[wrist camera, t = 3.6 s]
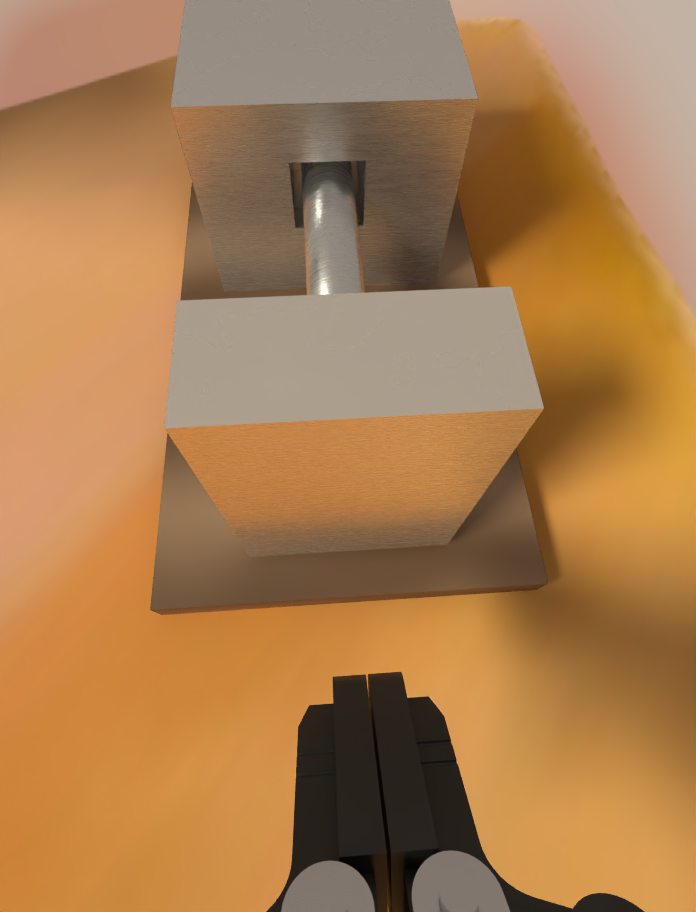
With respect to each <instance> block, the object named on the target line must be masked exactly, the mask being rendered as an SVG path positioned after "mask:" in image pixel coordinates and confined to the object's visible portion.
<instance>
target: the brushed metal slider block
mask: <svg viewBox="0 0 696 912" xmlns="http://www.w3.org/2000/svg"><path fill="white" fill-rule="evenodd" d="M301 169H302V193H303V217H304V241H305V265H306V290H307V295H298V296H275V297H251V298H228V299H204V300H181V301H177V309H176V319H175V329H174V339H173V349H172V359H171V369H170V378H169V388H168V398H167V408H166V418H165V430H166V431H167V433H168V434H169V436H170V437H171V439H172V440H173V442H174V443H175V445H176V446H177V448H178V449H179V451H180V452H181V454H182V455H183V457H184V458H185V460H186V461H187V463H188V464H189V466H190V467H191V469H192V470H193V472H194V473H195V475H196V476H197V478H198V479H199V481H200V482H201V484H202V485H203V487H204V488H205V490H206V491H207V493H208V494H209V496H210V497H211V499H212V500H213V502H214V503H215V505H216V506H217V508H218V509H219V511H220V512H221V514H222V515H223V517H224V518H225V520H226V521H227V523H228V524H229V526H230V527H231V529H232V530H233V532H234V533H235V535H236V536H237V538H238V539H239V541H240V542H241V544H242V545H243V547H244V548H245V550H246V551H247V553H248V554H249V556H250V557H260V556H276V555H292V554H307V553H323V552H339V551H355V550H371V549H387V548H403V547H419V546H435V545H447V544H448V543H449V541H450V540H451V539H452V537H453V536H454V534H455V533H456V532H457V530H458V529H459V527H460V526H461V525H462V523H463V522H464V520H465V519H466V518H467V516H468V515H469V513H470V512H471V511H472V509H473V508H474V506H475V505H476V503H477V502H478V501H479V499H480V498H481V496H482V495H483V494H484V492H485V491H486V489H487V488H488V487H489V485H490V484H491V482H492V481H493V480H494V478H495V477H496V475H497V474H498V473H499V471H500V470H501V468H502V467H503V466H504V464H505V463H506V461H507V460H508V459H509V457H510V456H511V454H512V453H513V451H514V450H515V449H516V447H517V446H518V444H519V443H520V442H521V440H522V439H523V437H524V436H525V435H526V433H527V432H528V430H529V429H530V428H531V426H532V425H533V423H534V422H535V421H536V419H537V418H538V416H539V415H540V414H541V412H542V411H543V409H544V406H543V402H542V399H541V395H540V391H539V387H538V384H537V380H536V376H535V373H534V369H533V365H532V362H531V358H530V354H529V351H528V347H527V343H526V339H525V336H524V332H523V328H522V325H521V321H520V317H519V314H518V310H517V306H516V302H515V299H514V295H513V291H512V288H511V286H509V287H486V288H462V289H439V290H416V291H392V292H369V293H365V288H364V279H363V270H362V260H361V251H360V241H359V232H358V223H357V213H356V204H355V194H354V185H353V175H352V166H351V161H332V162H301Z"/></svg>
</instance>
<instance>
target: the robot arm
mask: <svg viewBox="0 0 696 912" xmlns="http://www.w3.org/2000/svg"><path fill="white" fill-rule="evenodd" d="M368 694H369V698H368ZM333 700H334V704H322V705H309V707H308V709H307V711H306V713H305V715H304V717H303V719H302V721H301V723H300V725H299V727H298V745H297V767H296V788H295V809H294V831H293V852H292V865H291V870H290V874H289V878H288V880H287V883H286V885H285V887H284V889H283V891H282V893H281V895H280V896H279V898H278V899H277V900H276V902H275V903H274V904H273V905H272V906H271V907H270V909H269V910H268V911H267V912H388V911H389V912H644V911H643V910H641V909H640V908H639V907H637V906H636V905H634V904H633V903H631V902H629V901H627V900H625V899H623V898H621V897H618V896H615V895H611V894H605V893H597V894H591V895H588V896H586V897H584V898H582V899H581V900H580V901H578V903H577V904H576V905H575V906H574V908H573V909H571V908H568V907H565V906H561V905H558V904H555V903H551V902H548V901H544V900H541V899H538V898H534V897H532V896H529V895H526V894H524V893H522V892H520V891H519V890H517V889H515V888H514V887H512V886H511V885H509V884H508V883H507V882H506V881H505V880H504V879H502V878H501V877H500V876H499V875H498V873H497V872H496V871H495V870H494V869H493V867H492V866H491V865H490V863H489V862H488V860H487V858H486V856H485V854H484V852H483V850H482V847H481V844H480V841H479V838H478V834H477V831H476V827H475V824H474V820H473V817H472V813H471V810H470V806H469V802H468V799H467V795H466V792H465V788H464V785H463V781H462V778H461V774H460V771H459V767H458V765H457V762H456V757H455V753H454V750H453V746H452V745H451V739H450V736H449V732H448V728H447V725H446V721H445V718H444V715H443V714H442V713H441V712H440V710H439V709H438V708H437V707H436V705H435V704H434V703H433V702H432V700H431V699H430V698H429V697H415V698H407V695H406V690H405V685H404V680H403V676H402V673H401V672H392V673H378V674H368V689H367V681H366V675H352V676H338V677H333Z"/></svg>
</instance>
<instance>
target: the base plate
mask: <svg viewBox="0 0 696 912" xmlns="http://www.w3.org/2000/svg"><path fill="white" fill-rule="evenodd" d="M364 288H365V293H369V292H392V291H416V290H439V289H462V288H479V286H478V282H477V278H476V274H475V269H474V265H473V261H472V256H471V252H470V248H469V244H468V239H467V235H466V231H465V227H464V222H463V218H462V214H461V209H460V205H459V201H458V197H457V193H456V197H455V202H454V206H453V210H452V215H451V219H450V223H449V228H448V232H447V236H446V241H445V245H444V249H443V254H442V258H441V263H440V267H439V271H438V276H437V280H436V283H421V284H397V285H374V286H364ZM298 295H307V290H306V288H302V289H279V290H255V291H231V292H224V289H223V286H222V282H221V279H220V275H219V272H218V268H217V265H216V261H215V258H214V255H213V251H212V248H211V244H210V241H209V237H208V234H207V231H206V227H205V224H204V220H203V217H202V213H201V210H200V207H199V203H198V200H197V196H196V193H195V189H194V186H193V183H192V188H191V198H190V209H189V219H188V229H187V239H186V249H185V260H184V270H183V280H182V290H181V300H204V299H228V298H251V297H275V296H298ZM546 584H548V581H547V577H546V573H545V569H544V564H543V560H542V556H541V551H540V547H539V543H538V539H537V534H536V530H535V526H534V521H533V517H532V513H531V509H530V504H529V500H528V496H527V492H526V487H525V483H524V479H523V474H522V470H521V466H520V462H519V457H518V453H517V449H515V450H514V451H513V453H512V454H511V456H510V457H509V459H508V460H507V461H506V463H505V464H504V466H503V467H502V468H501V470H500V471H499V473H498V474H497V475H496V477H495V478H494V480H493V481H492V482H491V484H490V485H489V487H488V488H487V489H486V491H485V492H484V494H483V495H482V496H481V498H480V499H479V501H478V502H477V503H476V505H475V506H474V508H473V509H472V511H471V512H470V513H469V515H468V516H467V518H466V519H465V520H464V522H463V523H462V525H461V526H460V527H459V529H458V530H457V532H456V533H455V534H454V536H453V537H452V539H451V540H450V541H449V543H448V544H447V545H435V546H419V547H403V548H387V549H371V550H355V551H339V552H323V553H307V554H292V555H276V556H260V557H250V556H249V554H248V553H247V551H246V550H245V548H244V547H243V545H242V544H241V542H240V541H239V539H238V538H237V536H236V535H235V533H234V532H233V530H232V529H231V527H230V526H229V524H228V523H227V521H226V520H225V518H224V517H223V515H222V514H221V512H220V511H219V509H218V508H217V506H216V505H215V503H214V502H213V500H212V499H211V497H210V496H209V494H208V493H207V491H206V490H205V488H204V487H203V485H202V484H201V482H200V481H199V479H198V478H197V476H196V475H195V473H194V472H193V470H192V469H191V467H190V466H189V464H188V463H187V461H186V460H185V458H184V457H183V455H182V454H181V452H180V451H179V449H178V448H177V446H176V445H175V443H174V442H173V440H172V439H171V437H170V436H169V434H167V444H166V454H165V464H164V474H163V485H162V495H161V505H160V515H159V526H158V536H157V546H156V556H155V567H154V577H153V587H152V597H151V607H150V610H152V611H154V612H156V613H158V614H161V615H166V614H181V613H196V612H211V611H226V610H241V609H256V608H271V607H286V606H301V605H316V604H331V603H346V602H361V601H376V600H391V599H406V598H421V597H436V596H450V595H465V594H480V593H495V592H510V591H525V590H537V589H539V588H540V587H542V586H544V585H546Z"/></svg>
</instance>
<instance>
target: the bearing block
mask: <svg viewBox="0 0 696 912" xmlns="http://www.w3.org/2000/svg"><path fill="white" fill-rule="evenodd" d="M477 102H478V96H477V93H476V89H475V86H474V83H473V79H472V76H471V72H470V69H469V66H468V62H467V59H466V55H465V52H464V49H463V45H462V42H461V39H460V35H459V32H458V28H457V25H456V22H455V18H454V15H453V12H452V8H451V5H450V2H449V0H185V6H184V13H183V20H182V27H181V35H180V42H179V49H178V56H177V63H176V71H175V78H174V85H173V92H172V100H171V110H172V114H173V117H174V121H175V124H176V128H177V131H178V135H179V138H180V141H181V145H182V148H183V152H184V155H185V159H186V162H187V165H188V169H189V172H190V176H191V179H192V183H193V186H194V189H195V193H196V196H197V200H198V203H199V207H200V210H201V213H202V217H203V220H204V224H205V227H206V231H207V234H208V237H209V241H210V244H211V248H212V251H213V255H214V258H215V261H216V265H217V268H218V272H219V275H220V279H221V282H222V286H223V289H224V292H231V291H255V290H279V289H302V288H306V265H305V241H304V217H303V193H302V169H301V162H332V161H351V166H352V175H353V185H354V194H355V204H356V213H357V223H358V232H359V241H360V251H361V260H362V270H363V279H364V286H374V285H397V284H421V283H436V280H437V276H438V271H439V267H440V263H441V258H442V254H443V249H444V245H445V241H446V236H447V232H448V228H449V223H450V219H451V215H452V210H453V206H454V202H455V197H456V193H457V189H458V184H459V180H460V176H461V171H462V167H463V163H464V158H465V154H466V149H467V145H468V141H469V136H470V132H471V128H472V123H473V119H474V115H475V110H476V106H477Z"/></svg>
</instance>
